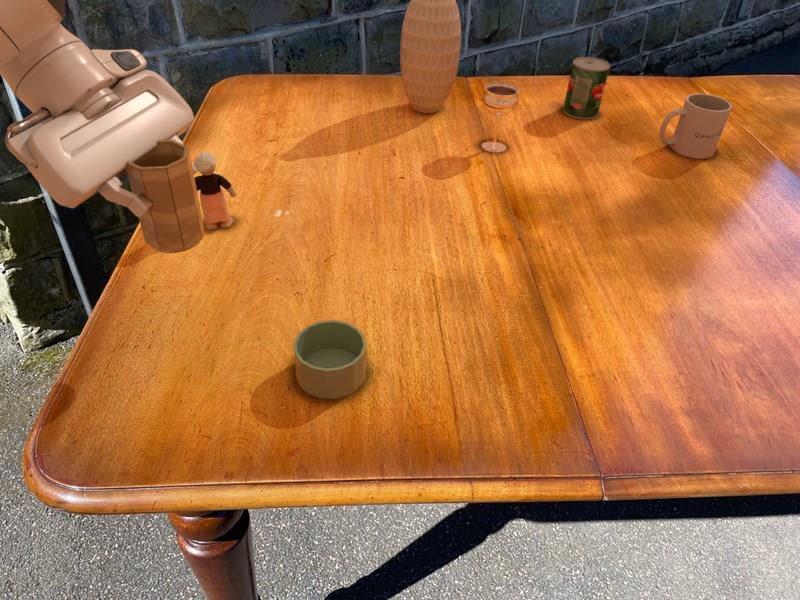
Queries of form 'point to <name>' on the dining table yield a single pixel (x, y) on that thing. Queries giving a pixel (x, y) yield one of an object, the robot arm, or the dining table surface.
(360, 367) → the gray bowl
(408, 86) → the vase
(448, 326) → the dining table surface
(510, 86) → the wineglass
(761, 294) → the dining table surface
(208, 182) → the grandmother figurine
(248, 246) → the dining table surface
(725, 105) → the mug
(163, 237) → the octagonal wooden container
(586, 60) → the canned tomato
